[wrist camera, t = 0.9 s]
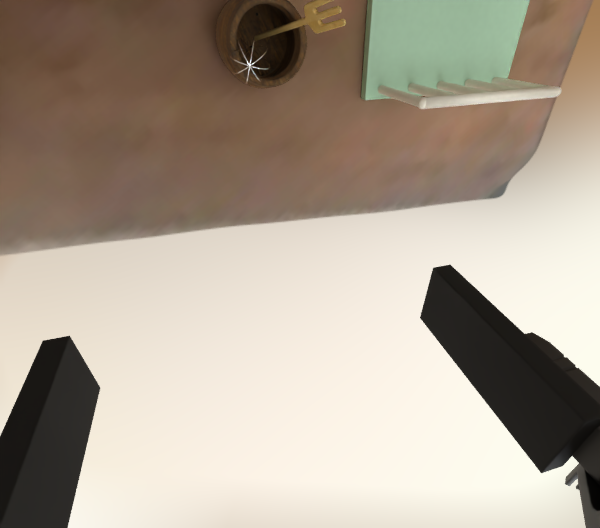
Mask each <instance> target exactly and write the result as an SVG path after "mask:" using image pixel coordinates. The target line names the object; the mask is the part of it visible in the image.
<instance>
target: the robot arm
mask: <svg viewBox="0 0 600 528" xmlns="http://www.w3.org/2000/svg"><path fill="white" fill-rule="evenodd" d="M420 318H421V320H422V321H423V322H424V323H425V325H426V326H427V327H428V328H429V330H430V331H431V332H432V333H433V335H434V336H435V337H436V339H437V340H438V341H439V343H440V344H441V345H442V346H443V348H444V349H445V350H446V352H447V353H448V354H449V355H450V357H451V358H452V359H453V361H454V362H455V363H456V364H457V366H458V367H459V368H460V369H461V370H462V372H463V373H464V375H465V376H466V377H467V378H468V380H469V381H470V382H471V384H472V385H473V386H474V387H475V388H476V390H477V391H478V392H479V394H480V395H481V396H482V398H483V399H484V400H485V401H486V403H487V404H488V405H489V406H490V408H491V409H492V410H493V412H494V413H495V414H496V415H497V417H498V418H499V419H500V421H501V422H502V423H503V424H504V426H505V427H506V428H507V430H508V431H509V432H510V433H511V435H512V436H513V437H514V439H515V440H516V441H517V442H518V444H519V445H520V446H521V448H522V449H523V450H524V451H525V452H526V454H527V455H528V456H529V458H530V459H531V460H532V461H533V463H534V464H535V465H536V467H537V468H538V469H539V471H540V472H541V473H543V472H546V471H549V470H552V469H555V468H558V467H561V466H563V465H564V464H565V463H566V462H567V461H568V460H569V458H570V457H571V456H573V457H574V458H575V459H576V460H577V461H578V462H579V464H578V465H577V466H576V467H575V468H574V469H573V470H572V471H571V473H570V474H569V475H568V476H567V477H566V482H565V484H566V485H568V486H570V485H571V484H572V483H573V482H574V481H575V480H576V479H577V478H578V485H577V486H576V489H579V490H580V495H581V501H582V507H583V513H584V518H585V525H586V528H600V387H599V386H598V385H597V384H596V383H594V381H592V380H591V379H590V378H589V377H588V376H587V375H586V374H585V373H583V372H582V371H581V370H580V369H579V368H576V367H575V365H574V364H573V363H572V362H571V361H570V360H569V359H568V358H565V357H564V355H563V354H562V353H561V352H560V351H559V350H558V349H556V348H555V347H554V346H553V345H552V344H551V343H550V342H548V341H546V340H545V339H543V338H541V337H539V336H538V335H536V334H534V333H528V334H524V333H523V332H522V331H521V330H520V329H518V327H516V326H515V325H514V324H513V323H512V322H511V321H510V320H509V319H508V318H507V317H506V316H504V314H502V313H501V312H500V311H499V310H498V309H497V308H496V307H495V306H494V305H493V304H492V303H491V302H490V301H489V300H487V299H486V298H485V297H484V296H483V295H482V294H481V293H480V292H479V291H478V290H477V289H476V288H475V287H474V286H472V285H471V284H470V283H469V282H468V281H467V280H466V279H465V278H464V277H463V276H462V275H461V274H460V273H459V272H457V271H456V270H455V269H454V268H453V267H452V266H451V265H446V266H441V267H436V268H433V271H432V275H431V279H430V283H429V286H428V290H427V294H426V298H425V301H424V305H423V309H422V313H421V317H420ZM99 390H100V387H99V385H98V383H97V381H96V380H95V378H94V376H93V375H92V373H91V371H90V370H89V368H88V366H87V365H86V363H85V361H84V359H83V358H82V356H81V354H80V353H79V351H78V349H77V348H76V346H75V344H74V343H73V341H72V339H71V338H70V336H66V337H61V338H56V339H50V340H45V341H43V342H42V344H41V346H40V349H39V351H38V353H37V355H36V358H35V360H34V362H33V364H32V366H31V369H30V371H29V373H28V375H27V378H26V380H25V382H24V384H23V387H22V389H21V391H20V393H19V396H18V398H17V400H16V402H15V405H14V407H13V409H12V411H11V414H10V416H9V418H8V420H7V422H6V425H5V427H4V429H3V431H2V434H1V436H0V528H67V527H68V522H69V518H70V514H71V510H72V506H73V501H74V497H75V493H76V488H77V484H78V480H79V476H80V472H81V467H82V462H83V459H84V455H85V450H86V446H87V442H88V437H89V433H90V429H91V425H92V420H93V416H94V412H95V407H96V403H97V399H98V394H99Z"/></svg>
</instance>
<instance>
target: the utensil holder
mask: <svg viewBox="0 0 600 528" xmlns="http://www.w3.org/2000/svg"><path fill="white" fill-rule="evenodd" d="M331 1H334V0H314V1H311V2H309V3H307V4H306V5H305V6H304V12H305V18H301V16H300V15H299V13H298V11H297V10H296V9H295V7H294V6H293V5H292V4H291V3H290V2H289V1H288V0H229V1H228V2H227V3H226V4H225V6H224V7H223V9H222V11H221V13H220V15H219V18H218V21H217V26H216V43H217V47H218V51H219V54H220V56H221V58H222V60H223V62H224V64H225V65H226V67H227V68H228V69H229V70H230V72H231V73H232V74H233V75H234V76H235V77H237V78H238V79H239V80H240V81H242V82H244V83H245V84H247V85H250V86H252V87H256V88H270V87H276V86H279V85H282V84H284V83H286V82H287V81H289V80H290V79H291V78H293V77H294V76H295V74H296V73H297V72H298V70H299V69H300V67H301V65H302V63H303V61H304V58H305V54H306V47H307V37H306V30H305V26H304V25H306V24H308V25H309V26H310V27H311V29H312V30H313V31H314V32H315V33H316V34H317V33H321V32H324V31H328V30H331V29H334V28H338V27H341V26H345V25H346V20H345V19H340V20H337V21H333V22H329V23H326V24H324V23H323V22H322V20H321V19H324V18H327V17H330V16H333V15H336V14H338V13H340V12H341V7H340V6H336V7H334V8H331V9H328V10H325V11H322V12H318V10H317V7H319V6H321V5H324V4H326V3H329V2H331Z"/></svg>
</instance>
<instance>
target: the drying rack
mask: <svg viewBox="0 0 600 528" xmlns="http://www.w3.org/2000/svg"><path fill="white" fill-rule="evenodd" d="M529 1H530V0H368V3H367V17H366V31H365V46H364V60H363V75H362V89H361V99H364V100H374V99H386V98H394V99H396V100H399V101H402V102H405V103H408V104H411V105H413V106H416V107H419V108H420V109H429V108H440V107H451V106H463V105H474V104H485V103H496V102H507V101H518V100H530V99H541V98H552V97H557V96H558V95H559V94H560V93H561V88H560V87H558V86H555V87H554V86H548V85H542V84H536V83H530V82H523V81H517V80H511V79H507V78H508V75H509V71H510V68H511V64H512V61H513V57H514V54H515V50H516V46H517V43H518V39H519V36H520V32H521V29H522V25H523V22H524V18H525V15H526V11H527V8H528V4H529ZM454 93H456V94H454ZM423 95H424V96H427V97H420V96H423Z"/></svg>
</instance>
